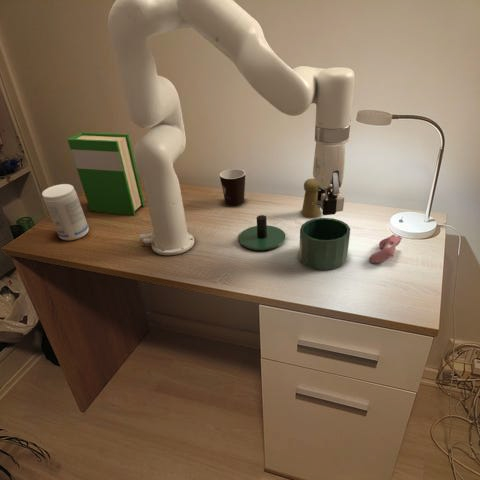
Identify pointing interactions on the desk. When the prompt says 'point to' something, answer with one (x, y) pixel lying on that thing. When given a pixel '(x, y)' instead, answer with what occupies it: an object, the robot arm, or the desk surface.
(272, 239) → the tin lid
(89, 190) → the hardback book
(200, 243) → the desk surface
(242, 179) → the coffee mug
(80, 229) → the supplement tub
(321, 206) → the usb wall charger
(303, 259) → the tin
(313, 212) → the olive pawn figure
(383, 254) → the pink toy animal
